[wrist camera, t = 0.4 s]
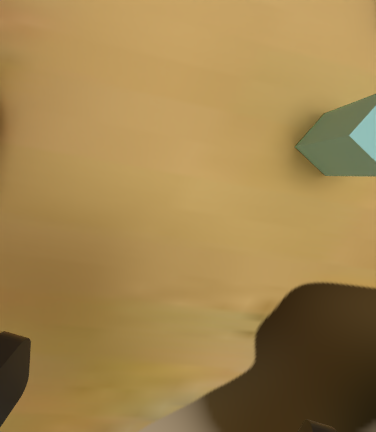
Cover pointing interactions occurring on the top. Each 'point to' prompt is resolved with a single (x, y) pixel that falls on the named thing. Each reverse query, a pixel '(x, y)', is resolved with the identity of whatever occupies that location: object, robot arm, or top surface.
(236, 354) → the top surface
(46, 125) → the top surface
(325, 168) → the post
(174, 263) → the top surface
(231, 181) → the top surface
